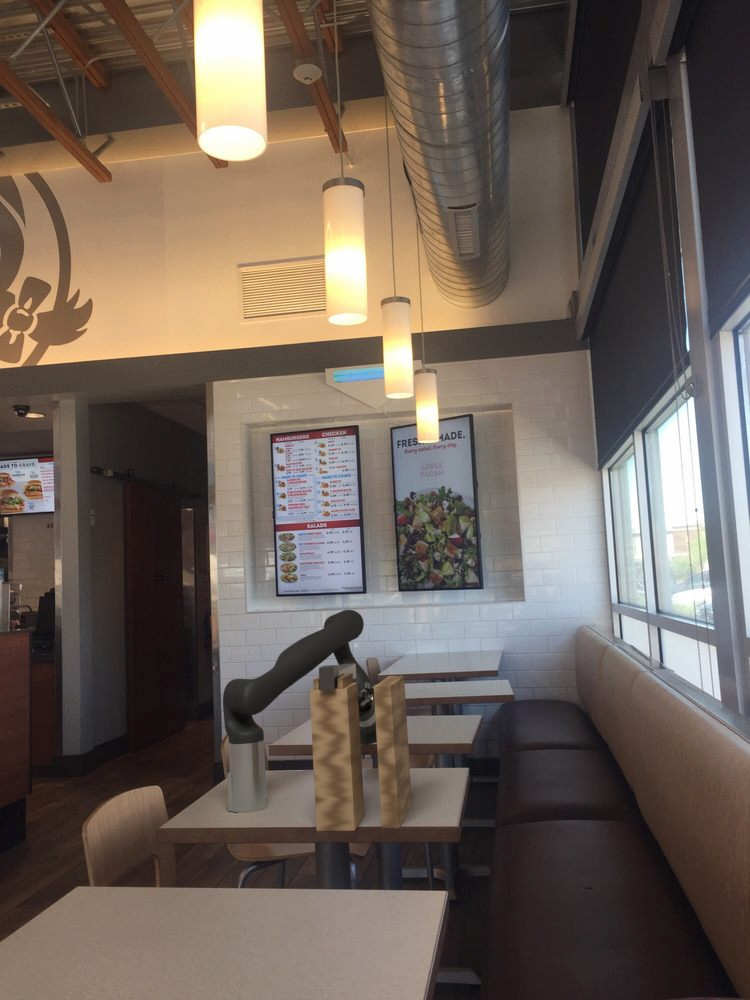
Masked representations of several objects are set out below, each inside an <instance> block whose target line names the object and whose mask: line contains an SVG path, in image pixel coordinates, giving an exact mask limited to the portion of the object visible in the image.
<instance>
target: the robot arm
mask: <svg viewBox="0 0 750 1000" xmlns="http://www.w3.org/2000/svg"><path fill="white" fill-rule="evenodd" d="M364 626H365V625H364V619H363V617H362V615H361V614H360V613H359V612H358V611H357V610H353V609H344V610H341V611H339V612H337V613H334V614H332V615H330V616H328V617H327V618H326V619H325V620H324V623H323V628H322V629H319V630H318V631H317V630H316V631H315V632H313V633H311V634H308V635H307V636H304V637H302V638H300V639H299V640H296V641H295V642H294V643H292V644H291V645H289V646H288V647H287V648H285V649H284V650H282V652H281V653H280V654H279V655H278V657H277V658H276V659H277V660H276V661H275V664H274V666H273V667H272V668H271V669H269V670H268V671H266V672H265V673H264V674H262V675H260V676H258V677H256V678H234V679H232V680H230V681H228V683H227V684H226V685H225V686H224V690H223V694H222V707H223V708H222V710H223V719H224V720H223V721H224V729H225V733H226V735H227V736H228V757H229V758H228V759H229V761H228V762H229V771H228V773H227V774H226V779H227V784H226V785H227V802H228V804H227V806H228V810H227V811H228V812H234V813H243V814H244V813H254V812H259V811H262V810H264V809H266V808H267V805H268V804H267V801H268V797H267V780H266V779H267V777H266V757H265V756H266V755H265V753H266V752H265V733H264V729H263V728H262V727H261V726H260V725H259V724H257V722H256V721H255V720H254V717H253V716H254V715H257V714H260V713H262V712H264V710H265V709H266V708H268V707H269V706H270V705H271V704H272V703H273V702H274V701H275V700H276V699H277V698H278V697H279V696H280V695H281V694H282V693H283V692H284V691H286V690H287V689H289V688H290V687H291V686H293V685H294V684H296V683H297V682H298V681H299V680H300V679H302V678H304V677H305V676H306V675H308V674H310V673H311V672H312V671H313V670H315V669H316V668H317V667H318V666H319V665H321V664H322V663H323V662H325V660H327V659H328V658H329V657H330V656H331V655H332V654H333V656H334V657H335V660H336V662H337V665H338V666H339V665H341V664H356V678H355V679H353V683H357V687H358V705H359V723H360V742H361V746H362V745H363V746H370V745H372V744H375V743H376V744H377V734H376V717H375V699H374V686H373V684H372V682H371V680H370V678H369V675H368V674H367V672H366V671H365V670H364V669H363V668H362V666H361V665H360V664H359V663H358V661H357V660H356V658H355V657H354V654H353V653H352V650H351V647H350V642H352V641H354V640H356V639H358V638H359V637H360V635H361V634H362V633H363V631H364Z"/></svg>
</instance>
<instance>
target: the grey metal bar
mask: <svg viewBox="0 0 750 1000" xmlns="http://www.w3.org/2000/svg"><path fill="white" fill-rule="evenodd" d="M347 673H353V679H355V678H356V664H341V665H339V664H335V665H334V664H333V665H332V664H331V665H322V666H320V667H318V677H319V684H320V690H335V689H337V688H338V683H337V679H338V678H340V677H342V676H344V675H346V674H347Z"/></svg>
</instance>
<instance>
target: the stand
mask: <svg viewBox="0 0 750 1000" xmlns="http://www.w3.org/2000/svg"><path fill="white" fill-rule="evenodd" d="M337 683H338V688H337V689H335V690H320V684H319V676H318V677H316V678H314V679H313V688H312V689H309V705H310V724H311V725H310V726H311V742H312V743H311V745H312V761H313V762H312V763H313V765H312V767H313V782H314V785H313V786H314V787H313V788H314V803H315V804H314V805H315V823H316V825H315V827H316V832H330V831H331V832H334V831H335V832H336V831H337V832H339V831H340V832H351V831H353V832H354V831H356V830H357V828H358V826H359V825H360V823H361V822H362V821H363V819H364V818H365V798H364V782H363V766H362V765H363V763H362V744H361V742H360V723H359V705H358V687H357V683H353V673H347V674H346V675H344V676H342V677H340V678H338V679H337ZM405 684H406V683H405V675H389V676H386V678H384V679H383V680H381V681H380V682H378V683H377V684H375V685H374V686H373V687H374V699H375V717H376V734H377V742H376V746H377V747H376V749H377V765H378V766H377V767H378V784H379V786H378V787H379V800H380V801H379V802H380V804H379V805H380V820H381V821H380V822H381V828H382V829H393V828H394V829H399V828H400V826H401V825H402V823H403V821H404V818H405V817H406V814H407V813H408V811H409V809H410V807H411V805H412V802H413V801H412V800H413V799H412V785H411V784H412V783H411V782H412V781H411V780H412V779H411V768H410V767H411V766H410V748H409V737H408V732H409V731H408V720H407V719H408V717H407V716H408V715H407V704H406V703H407V701H406V686H405Z"/></svg>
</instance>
